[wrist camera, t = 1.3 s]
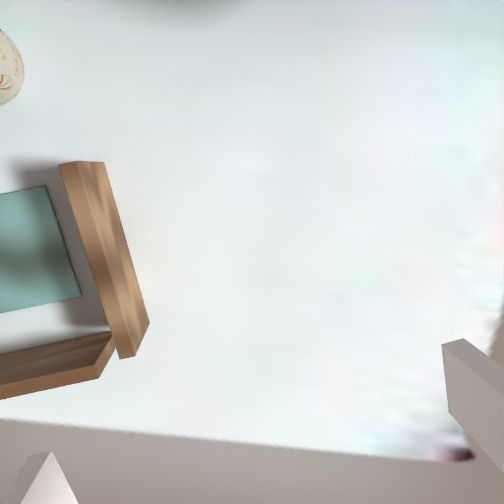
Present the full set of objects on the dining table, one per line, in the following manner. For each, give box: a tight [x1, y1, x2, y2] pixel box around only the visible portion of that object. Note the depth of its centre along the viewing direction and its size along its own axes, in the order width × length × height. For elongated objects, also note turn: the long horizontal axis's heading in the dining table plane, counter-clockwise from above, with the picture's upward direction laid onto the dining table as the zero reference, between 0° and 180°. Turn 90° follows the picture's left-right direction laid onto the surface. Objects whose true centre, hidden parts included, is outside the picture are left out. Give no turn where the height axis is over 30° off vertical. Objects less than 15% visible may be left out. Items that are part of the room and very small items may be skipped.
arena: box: [0, 161, 149, 400], centre depth 28 cm, size 16×17×6 cm
